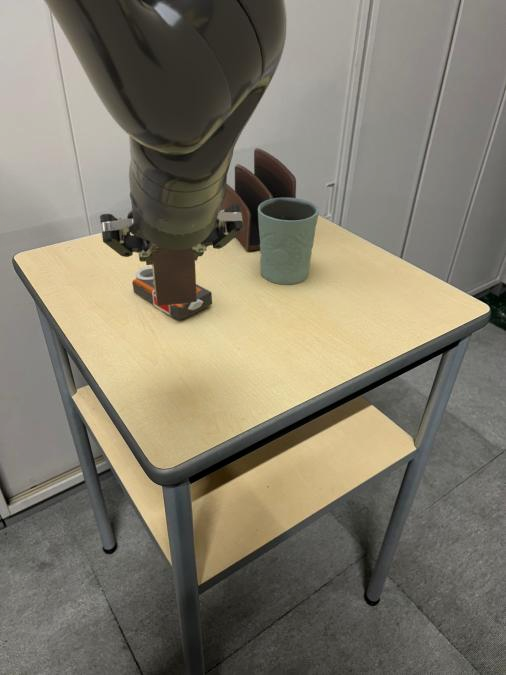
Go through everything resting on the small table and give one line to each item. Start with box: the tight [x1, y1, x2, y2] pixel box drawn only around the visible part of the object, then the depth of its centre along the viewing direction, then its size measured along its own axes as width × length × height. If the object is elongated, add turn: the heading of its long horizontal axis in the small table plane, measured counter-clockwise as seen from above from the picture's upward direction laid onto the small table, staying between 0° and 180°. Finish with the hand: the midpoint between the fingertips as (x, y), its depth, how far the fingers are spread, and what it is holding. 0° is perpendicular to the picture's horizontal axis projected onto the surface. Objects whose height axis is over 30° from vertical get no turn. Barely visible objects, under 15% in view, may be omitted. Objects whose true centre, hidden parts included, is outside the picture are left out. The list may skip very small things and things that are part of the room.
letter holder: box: [219, 147, 297, 252], centre depth 102 cm, size 10×20×14 cm, turn 22°
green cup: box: [258, 197, 320, 286], centre depth 89 cm, size 10×10×12 cm
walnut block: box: [151, 248, 197, 306], centre depth 57 cm, size 4×4×8 cm
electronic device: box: [131, 266, 213, 321], centre depth 84 cm, size 7×3×15 cm
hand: (170, 254), depth 59 cm, fingers closed on walnut block, 4 cm apart
